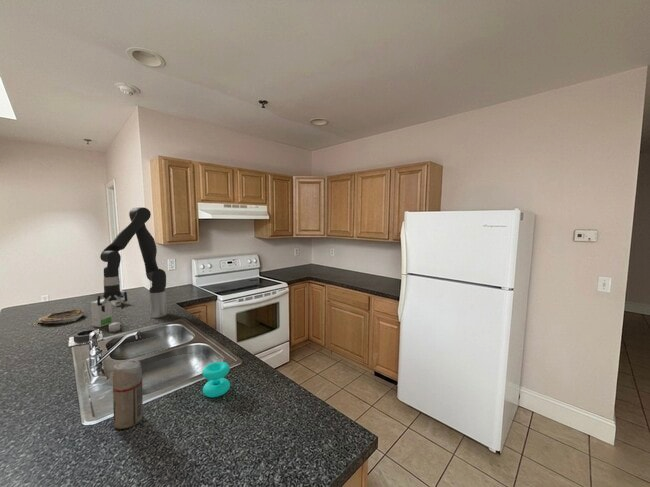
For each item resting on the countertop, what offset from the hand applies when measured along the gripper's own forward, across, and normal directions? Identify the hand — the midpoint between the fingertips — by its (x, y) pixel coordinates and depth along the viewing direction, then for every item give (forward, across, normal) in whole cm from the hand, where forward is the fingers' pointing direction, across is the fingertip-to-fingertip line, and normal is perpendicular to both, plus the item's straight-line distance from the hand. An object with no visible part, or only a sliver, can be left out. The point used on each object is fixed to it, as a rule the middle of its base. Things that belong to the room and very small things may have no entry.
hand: (113, 310), depth 163 cm
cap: (+12, 0, 0) cm, 12 cm away
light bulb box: (+12, -6, -61) cm, 63 cm away
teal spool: (+13, -26, +99) cm, 103 cm away
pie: (+13, +24, -42) cm, 50 cm away
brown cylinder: (+13, +2, +96) cm, 97 cm away
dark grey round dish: (+12, +13, +5) cm, 19 cm away
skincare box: (+13, +5, -16) cm, 21 cm away
